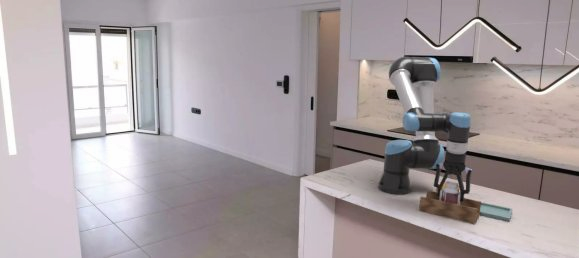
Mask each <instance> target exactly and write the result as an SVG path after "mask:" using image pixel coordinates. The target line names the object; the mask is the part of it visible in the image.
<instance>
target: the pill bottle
mask: <svg viewBox="0 0 579 258" xmlns="http://www.w3.org/2000/svg"><path fill="white" fill-rule="evenodd" d="M453 181H454V180H446V181H445V182H446V184H445V185H446V186H445V187H444V188H443V194H442V201H445V202H449V203H454V204H457V201H458V194H459V192H460V188H459V189H458V188H457V187H458V185H459V184H458V182H456V181H454V182H453Z"/></svg>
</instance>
